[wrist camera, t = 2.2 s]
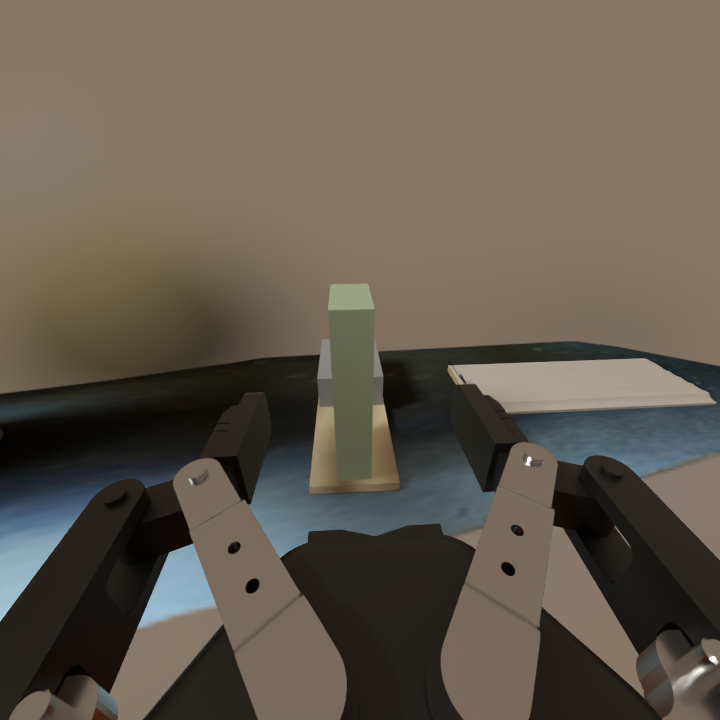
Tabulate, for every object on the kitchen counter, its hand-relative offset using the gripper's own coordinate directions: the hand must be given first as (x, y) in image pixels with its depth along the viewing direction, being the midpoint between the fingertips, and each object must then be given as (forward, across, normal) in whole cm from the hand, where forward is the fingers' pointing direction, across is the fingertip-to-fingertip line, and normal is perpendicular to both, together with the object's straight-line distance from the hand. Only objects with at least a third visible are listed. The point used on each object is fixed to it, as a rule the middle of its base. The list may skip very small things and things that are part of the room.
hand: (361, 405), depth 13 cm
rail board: (+19, 0, +16) cm, 25 cm away
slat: (+12, 0, +15) cm, 19 cm away
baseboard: (+23, -30, +17) cm, 41 cm away
